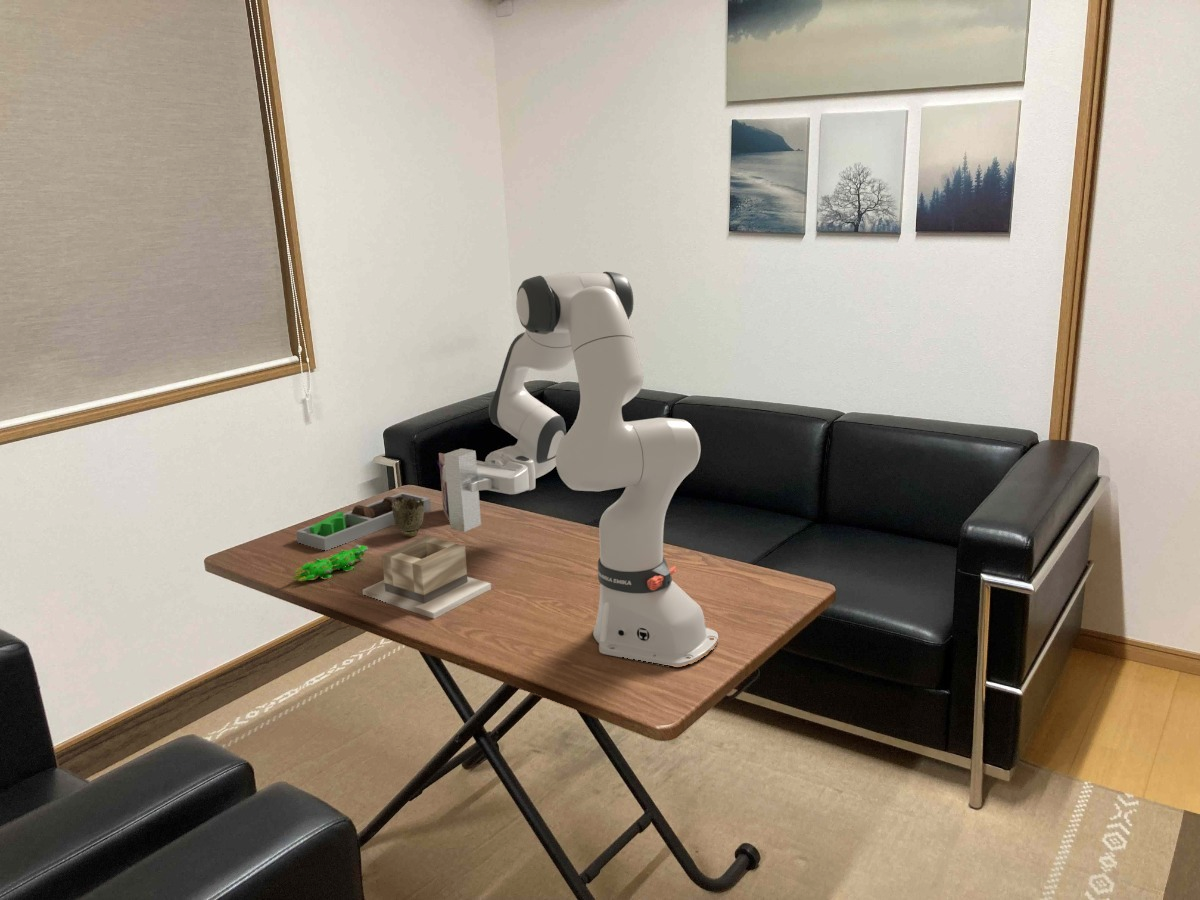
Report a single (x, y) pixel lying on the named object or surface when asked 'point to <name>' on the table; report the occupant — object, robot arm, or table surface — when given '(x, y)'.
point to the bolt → (377, 508)
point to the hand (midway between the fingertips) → (459, 486)
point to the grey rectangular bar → (462, 489)
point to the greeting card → (443, 486)
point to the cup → (408, 516)
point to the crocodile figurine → (330, 564)
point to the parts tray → (355, 526)
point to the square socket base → (426, 578)
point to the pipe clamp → (329, 525)
